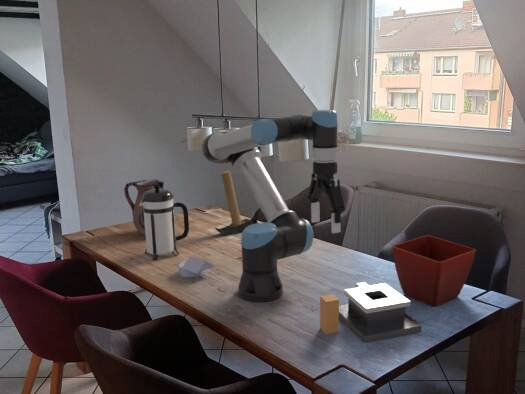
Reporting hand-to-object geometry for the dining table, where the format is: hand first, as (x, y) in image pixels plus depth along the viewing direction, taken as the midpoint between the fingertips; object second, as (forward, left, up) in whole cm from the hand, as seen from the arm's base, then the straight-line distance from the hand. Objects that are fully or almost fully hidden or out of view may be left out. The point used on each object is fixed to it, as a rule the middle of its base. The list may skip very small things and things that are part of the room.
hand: (325, 227), depth 167 cm
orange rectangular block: (-7, -20, -25) cm, 32 cm away
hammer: (-8, +82, -25) cm, 86 cm away
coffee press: (-44, +64, -25) cm, 82 cm away
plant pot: (+34, -10, -25) cm, 43 cm away
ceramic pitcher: (-47, +95, -25) cm, 109 cm away
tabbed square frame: (+8, -20, -25) cm, 32 cm away
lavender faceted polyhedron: (-36, +37, -25) cm, 58 cm away
